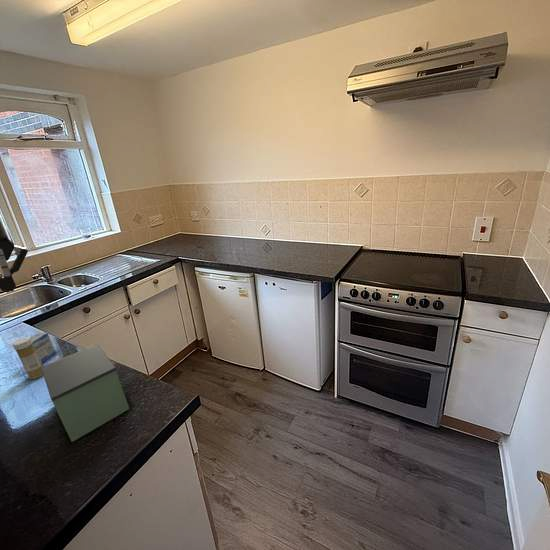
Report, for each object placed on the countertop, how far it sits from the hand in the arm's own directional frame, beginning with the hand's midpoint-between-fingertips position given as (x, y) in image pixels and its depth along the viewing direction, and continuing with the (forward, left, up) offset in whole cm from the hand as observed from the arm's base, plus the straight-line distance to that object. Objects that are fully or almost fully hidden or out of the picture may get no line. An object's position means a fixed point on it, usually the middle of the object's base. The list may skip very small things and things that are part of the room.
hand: (10, 291), depth 72 cm
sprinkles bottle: (-12, +18, -35) cm, 41 cm away
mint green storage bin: (+10, -7, -35) cm, 37 cm away
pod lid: (+10, -7, -22) cm, 25 cm away
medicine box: (-14, +28, -35) cm, 47 cm away
